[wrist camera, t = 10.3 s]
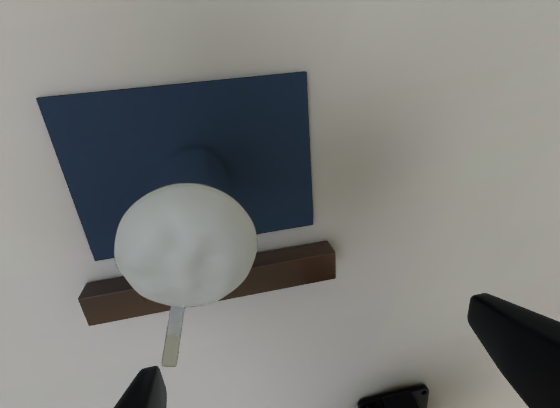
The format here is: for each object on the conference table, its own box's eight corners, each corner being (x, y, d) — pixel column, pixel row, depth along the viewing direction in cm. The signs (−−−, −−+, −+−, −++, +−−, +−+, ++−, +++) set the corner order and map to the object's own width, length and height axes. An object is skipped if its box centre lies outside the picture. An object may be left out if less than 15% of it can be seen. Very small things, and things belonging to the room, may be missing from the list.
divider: (328, 265, 23) (335, 278, 22) (96, 309, 21) (88, 326, 19) (327, 240, 22) (335, 252, 21) (86, 282, 20) (77, 298, 19)
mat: (312, 222, 21) (313, 224, 21) (96, 258, 20) (94, 261, 19) (305, 71, 18) (306, 71, 18) (38, 97, 16) (35, 98, 16)
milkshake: (144, 218, 19) (87, 363, 10) (159, 124, 17) (105, 196, 8) (225, 230, 20) (239, 370, 11) (246, 144, 18) (283, 226, 9)
